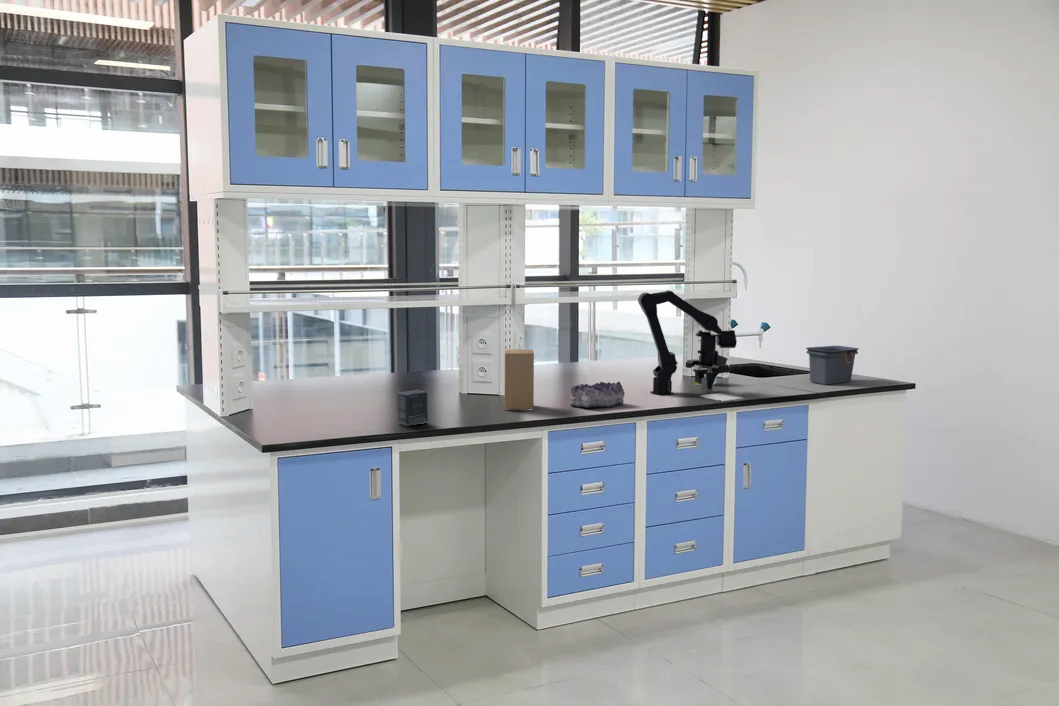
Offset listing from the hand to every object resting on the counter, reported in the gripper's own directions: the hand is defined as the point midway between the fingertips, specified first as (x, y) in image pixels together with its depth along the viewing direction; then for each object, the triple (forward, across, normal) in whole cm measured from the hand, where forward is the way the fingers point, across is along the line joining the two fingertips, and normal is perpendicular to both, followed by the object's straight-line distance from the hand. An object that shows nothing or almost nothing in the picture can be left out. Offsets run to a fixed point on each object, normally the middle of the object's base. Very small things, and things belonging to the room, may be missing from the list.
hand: (706, 388), depth 372 cm
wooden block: (+2, +12, +77) cm, 78 cm away
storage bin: (+2, -8, -63) cm, 63 cm away
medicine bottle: (+2, +16, -15) cm, 22 cm away
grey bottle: (+2, 0, 0) cm, 2 cm away
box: (+2, +6, +121) cm, 121 cm away
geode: (+2, +1, +51) cm, 51 cm away
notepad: (+2, -10, +1) cm, 10 cm away
